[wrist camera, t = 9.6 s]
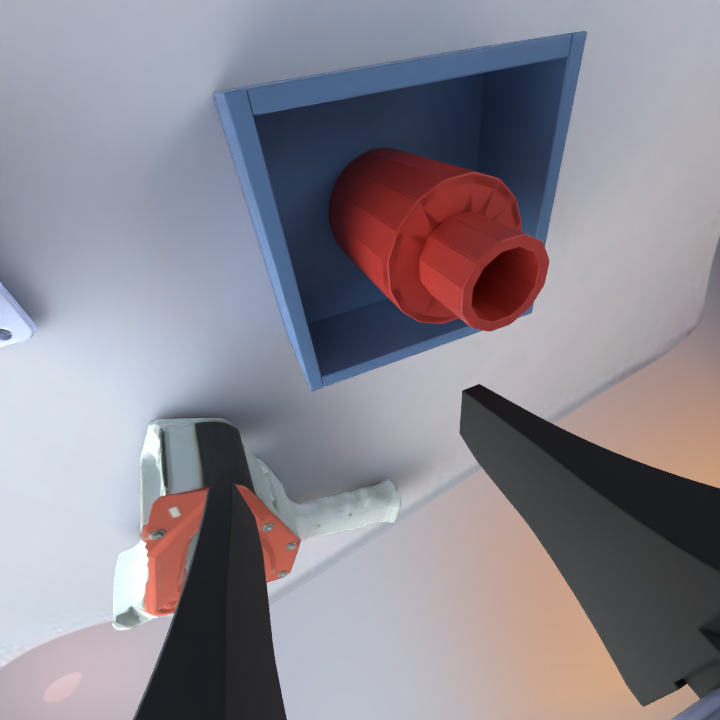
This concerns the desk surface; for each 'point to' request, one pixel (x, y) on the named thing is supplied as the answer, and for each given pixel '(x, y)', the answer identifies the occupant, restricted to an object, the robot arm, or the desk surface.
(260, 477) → the tape dispenser
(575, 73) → the tub
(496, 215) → the bottle
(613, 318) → the desk surface
